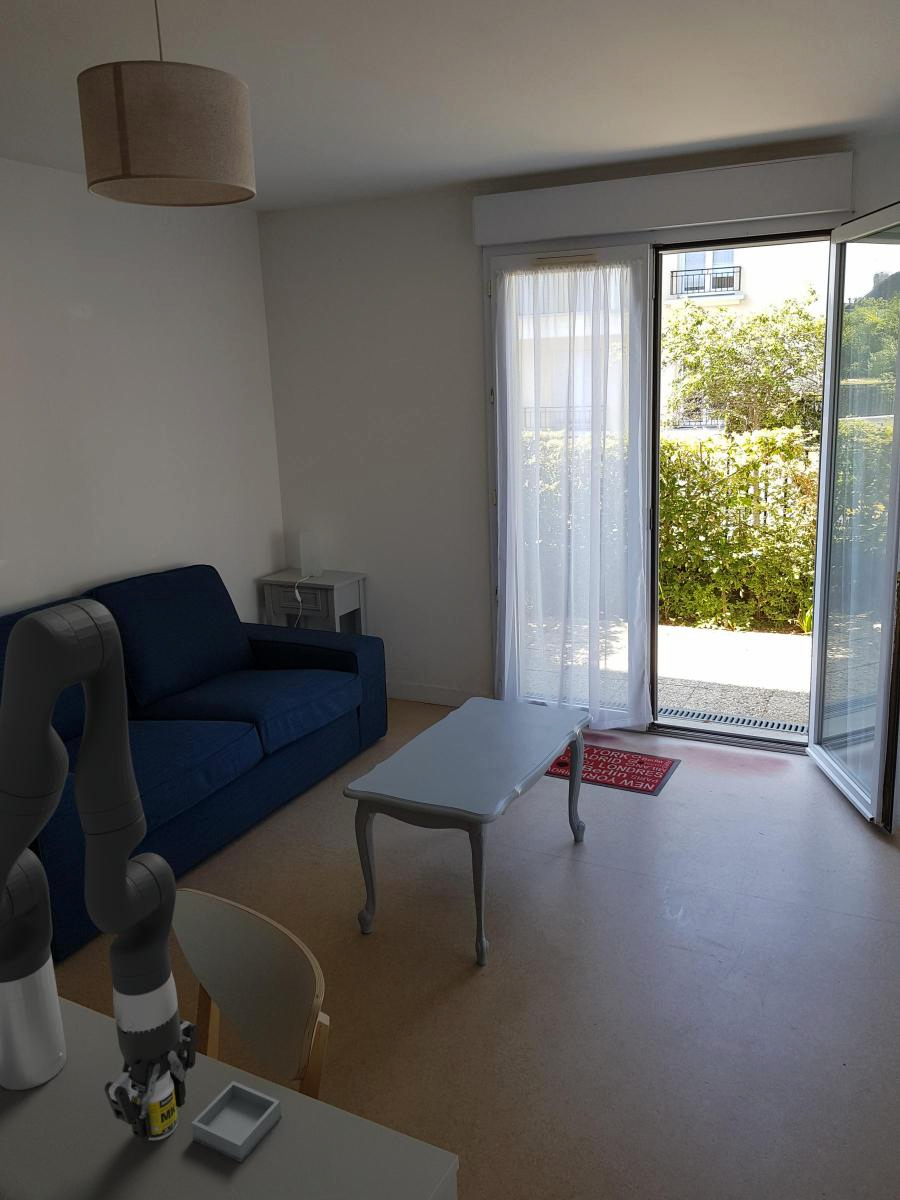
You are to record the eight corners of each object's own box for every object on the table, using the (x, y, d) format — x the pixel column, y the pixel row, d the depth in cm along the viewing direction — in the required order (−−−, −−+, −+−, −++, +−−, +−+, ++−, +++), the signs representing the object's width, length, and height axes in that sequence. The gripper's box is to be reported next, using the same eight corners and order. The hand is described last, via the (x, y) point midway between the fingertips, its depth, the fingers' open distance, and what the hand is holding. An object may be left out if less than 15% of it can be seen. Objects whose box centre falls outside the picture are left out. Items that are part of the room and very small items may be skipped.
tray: (193, 1139, 120) (191, 1122, 119) (234, 1096, 126) (232, 1080, 126) (241, 1162, 116) (239, 1145, 115) (281, 1117, 123) (280, 1100, 122)
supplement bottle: (167, 1144, 119) (160, 1089, 117) (133, 1139, 120) (126, 1084, 118) (184, 1115, 123) (178, 1062, 121) (152, 1110, 124) (145, 1057, 122)
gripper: (165, 967, 125) (178, 1073, 129) (79, 1035, 112) (96, 1150, 117) (208, 983, 121) (220, 1092, 125) (124, 1055, 109) (140, 1172, 113)
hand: (160, 1119), depth 121 cm, fingers open, 5 cm apart
